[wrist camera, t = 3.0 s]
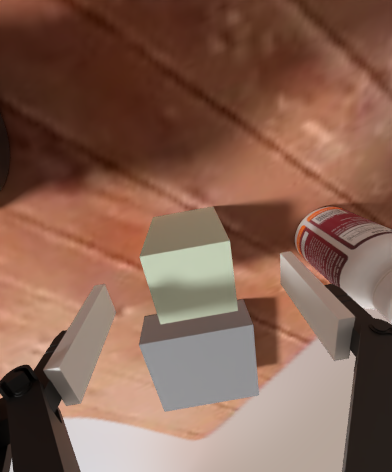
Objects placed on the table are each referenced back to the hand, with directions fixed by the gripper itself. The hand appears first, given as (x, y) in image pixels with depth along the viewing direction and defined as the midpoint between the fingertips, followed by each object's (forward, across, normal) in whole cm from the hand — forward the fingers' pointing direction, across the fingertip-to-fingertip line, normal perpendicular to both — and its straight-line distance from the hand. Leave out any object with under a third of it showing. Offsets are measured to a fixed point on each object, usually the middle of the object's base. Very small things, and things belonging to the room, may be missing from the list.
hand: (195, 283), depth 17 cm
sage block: (+7, 0, 0) cm, 7 cm away
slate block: (+7, -1, -14) cm, 16 cm away
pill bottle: (+8, +14, -2) cm, 16 cm away
